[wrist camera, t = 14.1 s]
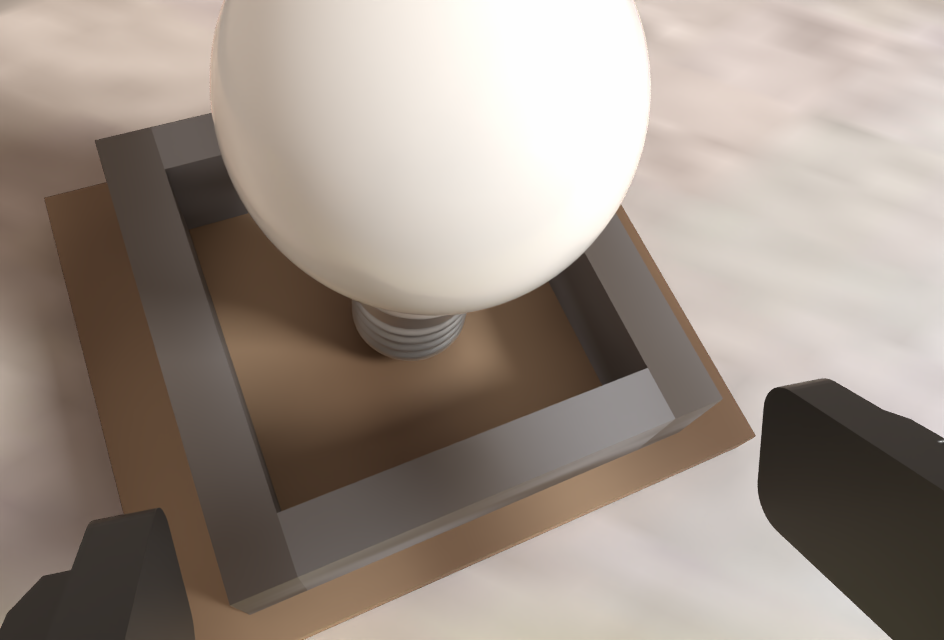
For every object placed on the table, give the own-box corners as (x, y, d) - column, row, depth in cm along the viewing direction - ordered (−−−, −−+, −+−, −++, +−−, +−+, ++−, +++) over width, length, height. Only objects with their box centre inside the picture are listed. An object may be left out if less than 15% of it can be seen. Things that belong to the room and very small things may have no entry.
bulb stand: (537, 95, 23) (564, 5, 20) (737, 447, 19) (811, 403, 16) (59, 219, 19) (-1, 132, 16) (181, 694, 15) (133, 701, 12)
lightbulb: (225, 284, 18) (52, -179, 8) (439, 172, 20) (509, -300, 10) (368, 502, 16) (370, 253, 6) (586, 355, 18) (839, -2, 9)
